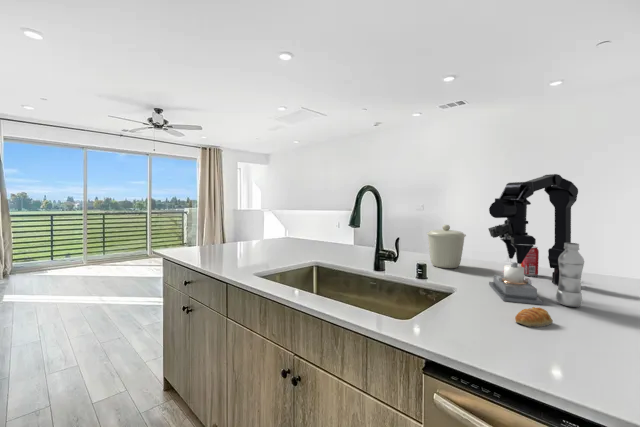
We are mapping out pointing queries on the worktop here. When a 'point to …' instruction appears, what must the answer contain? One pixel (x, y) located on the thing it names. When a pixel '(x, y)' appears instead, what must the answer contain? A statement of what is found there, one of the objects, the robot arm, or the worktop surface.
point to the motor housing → (515, 291)
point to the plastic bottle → (570, 276)
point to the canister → (445, 247)
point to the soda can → (531, 262)
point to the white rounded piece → (514, 273)
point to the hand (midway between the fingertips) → (514, 260)
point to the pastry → (533, 317)
